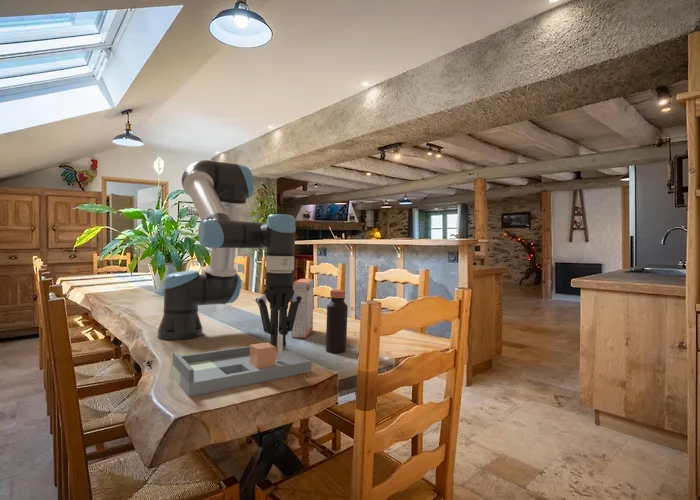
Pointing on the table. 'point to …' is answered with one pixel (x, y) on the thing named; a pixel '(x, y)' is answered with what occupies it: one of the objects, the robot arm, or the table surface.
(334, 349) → the bottle
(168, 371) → the table surface
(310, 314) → the cracker box
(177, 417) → the table surface
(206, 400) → the table surface
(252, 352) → the terracotta block
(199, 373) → the board
